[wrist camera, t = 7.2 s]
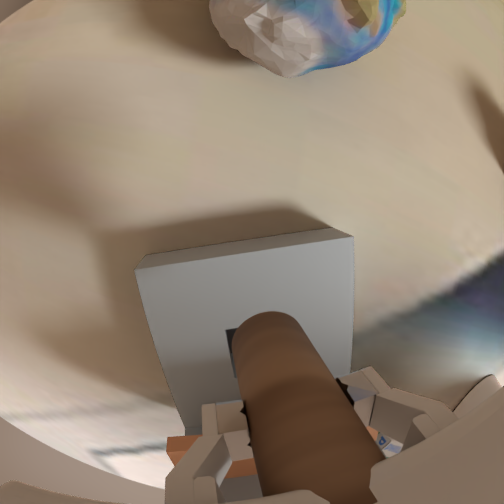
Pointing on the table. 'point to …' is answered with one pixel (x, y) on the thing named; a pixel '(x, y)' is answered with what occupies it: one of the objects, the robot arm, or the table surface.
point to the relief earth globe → (304, 30)
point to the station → (243, 319)
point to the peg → (300, 415)
